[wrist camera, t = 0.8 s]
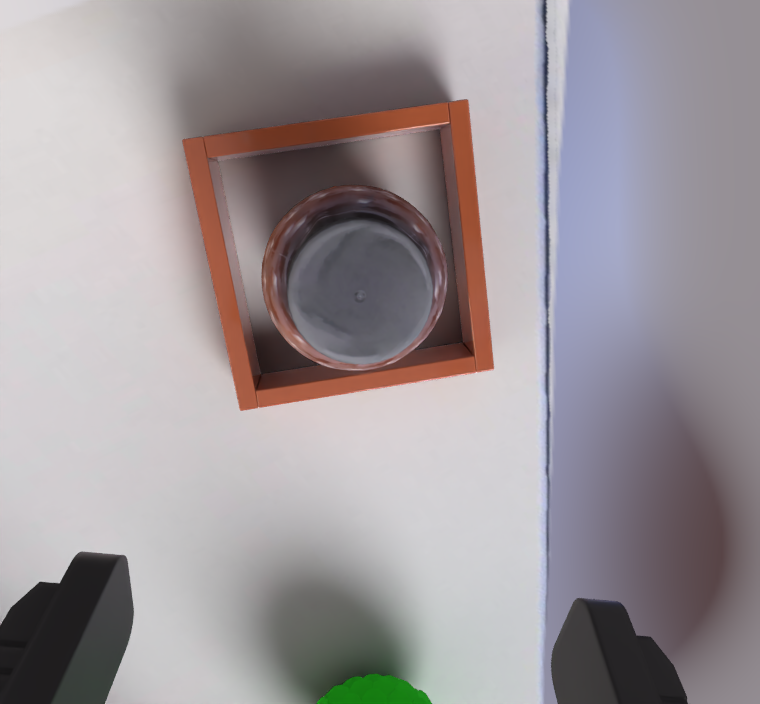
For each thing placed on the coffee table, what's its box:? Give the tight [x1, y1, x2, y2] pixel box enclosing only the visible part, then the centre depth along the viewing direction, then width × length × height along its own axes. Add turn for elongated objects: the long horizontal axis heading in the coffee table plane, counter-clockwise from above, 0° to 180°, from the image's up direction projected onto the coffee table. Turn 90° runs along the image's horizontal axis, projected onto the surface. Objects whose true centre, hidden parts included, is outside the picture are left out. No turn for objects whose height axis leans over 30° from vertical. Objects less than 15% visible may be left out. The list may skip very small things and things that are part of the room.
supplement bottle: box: [262, 185, 448, 371], centre depth 22 cm, size 6×6×11 cm
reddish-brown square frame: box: [182, 99, 494, 411], centre depth 26 cm, size 11×11×2 cm
